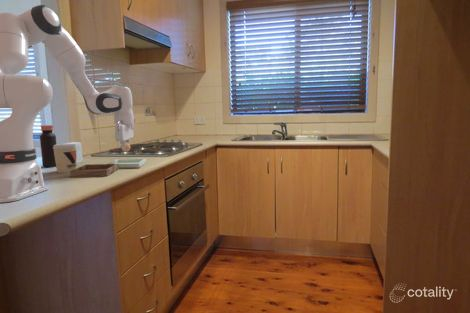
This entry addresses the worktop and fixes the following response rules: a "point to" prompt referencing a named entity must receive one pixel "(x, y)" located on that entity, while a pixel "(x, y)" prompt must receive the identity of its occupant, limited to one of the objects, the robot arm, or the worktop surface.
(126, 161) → the tray
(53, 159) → the bottle
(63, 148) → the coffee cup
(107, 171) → the brown wooden tray
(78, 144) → the small box
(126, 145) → the ball
